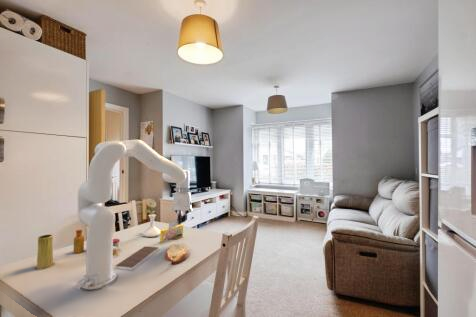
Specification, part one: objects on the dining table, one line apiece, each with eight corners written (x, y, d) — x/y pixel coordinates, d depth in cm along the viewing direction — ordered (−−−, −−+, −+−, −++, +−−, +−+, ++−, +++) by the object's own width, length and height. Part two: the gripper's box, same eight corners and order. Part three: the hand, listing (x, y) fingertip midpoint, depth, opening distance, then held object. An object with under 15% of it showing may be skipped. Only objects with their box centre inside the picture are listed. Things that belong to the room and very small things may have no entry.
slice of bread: (176, 246, 131) (176, 239, 131) (199, 252, 122) (199, 246, 122) (150, 257, 116) (150, 250, 116) (174, 265, 107) (174, 258, 107)
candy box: (161, 244, 133) (161, 230, 134) (159, 243, 135) (159, 230, 135) (183, 237, 146) (183, 224, 146) (181, 236, 148) (181, 224, 148)
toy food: (70, 253, 120) (71, 231, 120) (92, 244, 132) (92, 224, 132) (108, 260, 112) (109, 236, 112) (128, 250, 124) (128, 229, 124)
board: (132, 270, 102) (132, 267, 102) (115, 268, 104) (115, 265, 104) (159, 249, 126) (159, 247, 126) (144, 248, 127) (144, 246, 127)
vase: (33, 269, 102) (33, 239, 102) (41, 263, 108) (41, 234, 108) (48, 268, 103) (49, 237, 103) (55, 262, 109) (56, 233, 109)
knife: (171, 229, 114) (171, 224, 114) (167, 229, 114) (167, 223, 114) (187, 219, 135) (187, 214, 135) (184, 219, 135) (184, 214, 135)
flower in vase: (164, 234, 151) (164, 198, 151) (150, 239, 141) (150, 200, 141) (152, 231, 158) (152, 196, 158) (137, 235, 148) (138, 198, 148)
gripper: (167, 190, 128) (166, 222, 127) (193, 191, 125) (192, 224, 125) (173, 189, 135) (172, 219, 135) (197, 190, 133) (197, 220, 132)
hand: (182, 221), depth 130 cm, fingers closed on knife, 2 cm apart
